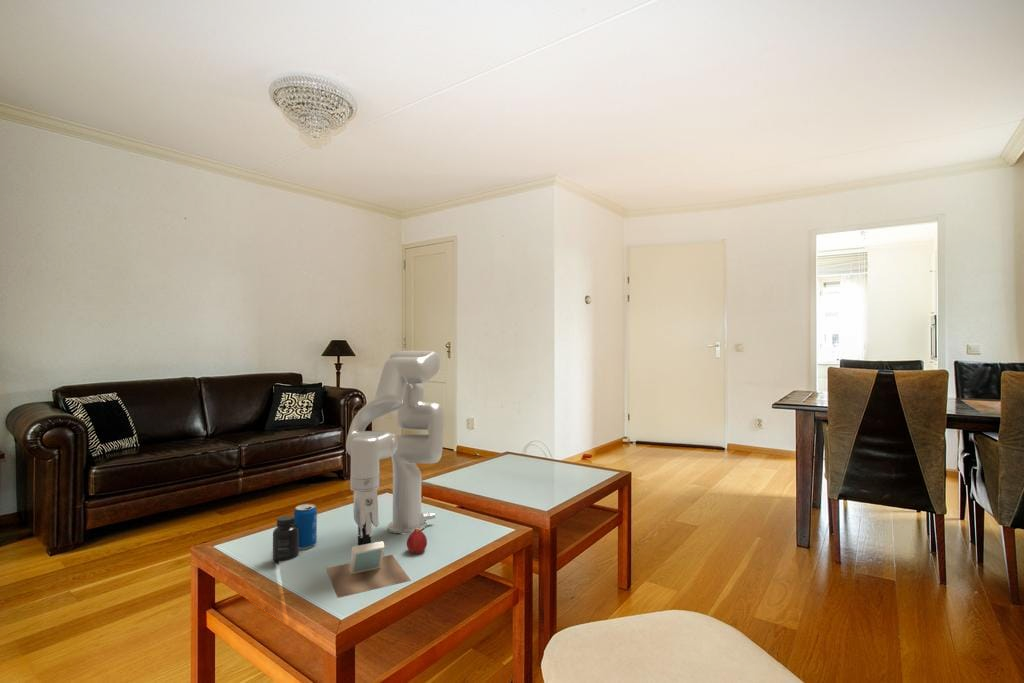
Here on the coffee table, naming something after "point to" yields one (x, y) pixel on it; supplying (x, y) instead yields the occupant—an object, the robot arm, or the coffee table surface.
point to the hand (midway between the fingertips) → (364, 550)
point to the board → (366, 577)
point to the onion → (416, 541)
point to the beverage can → (306, 525)
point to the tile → (366, 557)
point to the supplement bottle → (285, 539)
